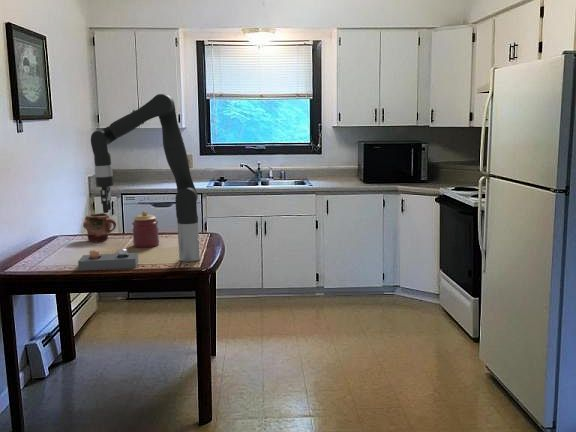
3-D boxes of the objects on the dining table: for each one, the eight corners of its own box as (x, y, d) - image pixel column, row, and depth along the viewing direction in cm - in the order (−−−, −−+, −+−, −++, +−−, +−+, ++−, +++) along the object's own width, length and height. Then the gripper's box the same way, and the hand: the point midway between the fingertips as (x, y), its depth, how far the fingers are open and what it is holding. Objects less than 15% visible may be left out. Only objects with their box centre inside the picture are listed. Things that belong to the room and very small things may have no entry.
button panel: (138, 261, 281) (137, 252, 280) (135, 267, 269) (135, 258, 268) (83, 263, 277) (83, 255, 276) (78, 270, 265) (78, 261, 265)
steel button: (127, 255, 275) (127, 248, 275) (126, 257, 271) (126, 250, 271) (118, 255, 275) (118, 248, 274) (117, 257, 271) (117, 250, 270)
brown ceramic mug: (123, 238, 331) (122, 213, 329) (111, 243, 320) (110, 217, 317) (90, 237, 336) (88, 212, 334) (77, 242, 325) (75, 216, 322)
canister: (161, 246, 310) (159, 212, 307) (135, 249, 306) (133, 214, 303) (157, 241, 322) (155, 208, 319) (131, 244, 317) (129, 210, 314)
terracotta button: (100, 256, 274) (99, 249, 273) (98, 258, 270) (98, 251, 269) (90, 256, 273) (90, 250, 273) (89, 258, 269) (88, 252, 269)
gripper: (110, 176, 269) (114, 213, 271) (114, 173, 282) (117, 208, 285) (93, 177, 267) (96, 214, 270) (97, 174, 281) (100, 209, 284)
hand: (107, 211), depth 278 cm, fingers open, 8 cm apart
